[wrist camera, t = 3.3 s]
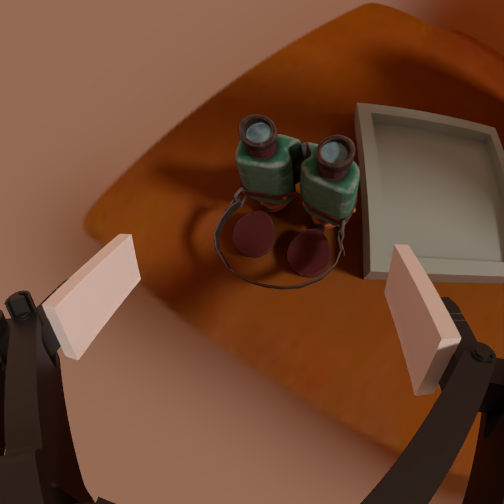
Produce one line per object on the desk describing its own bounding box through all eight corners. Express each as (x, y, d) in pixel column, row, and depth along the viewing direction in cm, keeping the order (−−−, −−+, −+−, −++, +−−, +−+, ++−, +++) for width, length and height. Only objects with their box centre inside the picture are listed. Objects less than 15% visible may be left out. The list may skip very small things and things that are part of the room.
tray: (486, 140, 26) (495, 127, 23) (516, 283, 21) (531, 277, 18) (353, 119, 28) (357, 102, 26) (363, 279, 23) (370, 271, 21)
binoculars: (162, 241, 16) (236, 89, 17) (218, 273, 26) (261, 167, 27) (335, 306, 13) (386, 126, 15) (322, 312, 24) (360, 197, 25)
